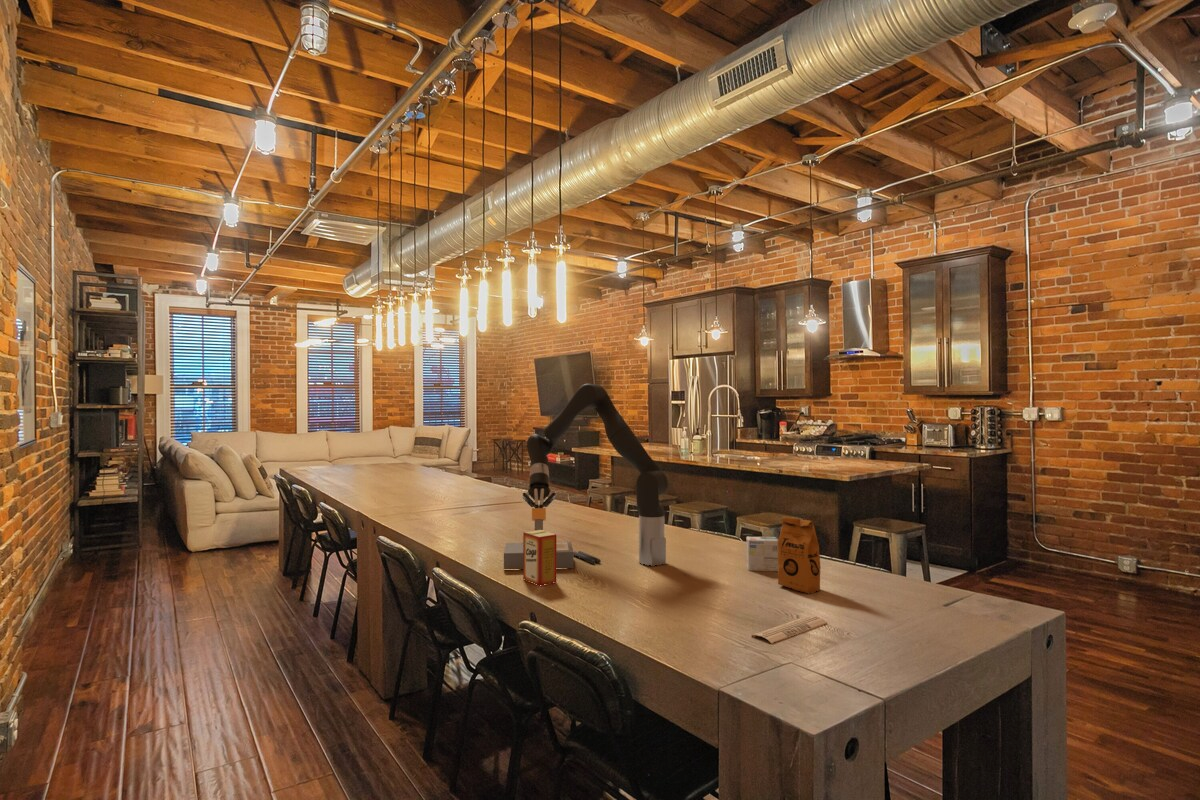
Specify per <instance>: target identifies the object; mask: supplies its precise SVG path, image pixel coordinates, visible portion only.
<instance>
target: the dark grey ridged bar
mask: <svg viewBox="0 0 1200 800" xmlns="http://www.w3.org/2000/svg"><path fill="white" fill-rule="evenodd" d="M573 555H575V556H574V557H576V556H578V557H580V558H582V559H584V560H586V561H585V562H587V561H588V562H587V563H589V562H590V563H589V564H591V563H593V564H592V565H595V564H601V562H602V561H601V559H600V558H599V557H596V556H594V555H591V554H589V553H586V552H584V551H581V550H579V551H578V552H577V551H573ZM578 557H577V558H578ZM580 558H579V559H580ZM582 559H581V560H582ZM584 560H583V561H584ZM596 562H597V563H596ZM594 563H595V564H594Z"/></svg>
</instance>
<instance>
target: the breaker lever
mask: <svg viewBox="0 0 1200 800" xmlns="http://www.w3.org/2000/svg"><path fill="white" fill-rule="evenodd" d="M546 511H547V507H543V508H535V507H531V522H534V531H535V530H544V521H546V519H547V513H546Z"/></svg>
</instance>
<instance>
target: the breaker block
mask: <svg viewBox="0 0 1200 800" xmlns="http://www.w3.org/2000/svg"><path fill="white" fill-rule="evenodd" d="M504 546H505V547H504V552H503V570H504V569H523V542H505V545H504ZM573 552H574V549H573V543H572V541H556V568H573V569H574V556H573Z"/></svg>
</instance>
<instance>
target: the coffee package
mask: <svg viewBox="0 0 1200 800" xmlns="http://www.w3.org/2000/svg"><path fill="white" fill-rule="evenodd" d="M781 521H782V525H781V529H780V533H779V536H778V538H777V539H778V569H779V571H777V577H778V578H777V579H778V580H777V584H778V585H779V586H783V587H785V588H789V589H791V588H792V590H794V591H797V592H800V593H801V592H802V593H805V594H807V593H808V595H810V594H812V593H811V592H813V593H816V591H817V592H820V591H821V556H820V546H819V541H818V536H817V532H816V527H815V525H814V522H813V521H814V520H807V519H802V518H801V519H800V518H797V517H792V516H791V517H790V516H783V517H782V520H781ZM809 593H810V594H809Z"/></svg>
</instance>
